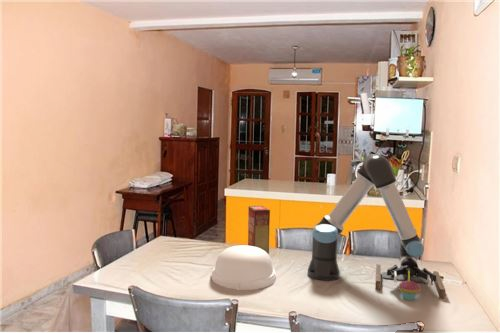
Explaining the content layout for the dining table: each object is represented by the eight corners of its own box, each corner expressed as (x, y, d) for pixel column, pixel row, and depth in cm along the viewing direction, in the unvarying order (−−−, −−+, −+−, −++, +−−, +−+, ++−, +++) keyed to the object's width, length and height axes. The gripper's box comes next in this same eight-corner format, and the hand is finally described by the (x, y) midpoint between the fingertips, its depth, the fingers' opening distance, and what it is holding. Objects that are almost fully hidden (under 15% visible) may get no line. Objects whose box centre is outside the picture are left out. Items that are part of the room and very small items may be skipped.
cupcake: (395, 293, 181) (396, 266, 180) (414, 294, 181) (416, 267, 180) (402, 302, 172) (404, 273, 171) (423, 302, 172) (425, 274, 171)
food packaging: (246, 248, 242) (248, 205, 240) (262, 247, 244) (263, 205, 242) (253, 255, 229) (254, 210, 227) (269, 254, 232) (271, 209, 229)
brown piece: (375, 289, 185) (375, 280, 184) (376, 272, 207) (376, 264, 207) (444, 299, 176) (445, 289, 176) (437, 279, 199) (438, 271, 199)
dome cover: (219, 264, 213) (220, 237, 212) (278, 268, 209) (279, 241, 208) (203, 288, 182) (204, 256, 180) (272, 293, 178) (274, 261, 176)
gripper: (437, 277, 194) (444, 294, 174) (380, 270, 201) (381, 285, 181) (438, 261, 193) (445, 276, 173) (381, 254, 200) (382, 269, 180)
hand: (412, 281), depth 177 cm, fingers open, 13 cm apart
